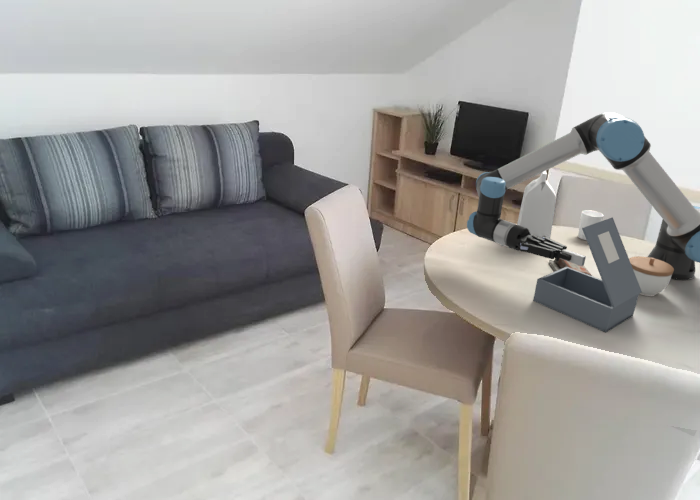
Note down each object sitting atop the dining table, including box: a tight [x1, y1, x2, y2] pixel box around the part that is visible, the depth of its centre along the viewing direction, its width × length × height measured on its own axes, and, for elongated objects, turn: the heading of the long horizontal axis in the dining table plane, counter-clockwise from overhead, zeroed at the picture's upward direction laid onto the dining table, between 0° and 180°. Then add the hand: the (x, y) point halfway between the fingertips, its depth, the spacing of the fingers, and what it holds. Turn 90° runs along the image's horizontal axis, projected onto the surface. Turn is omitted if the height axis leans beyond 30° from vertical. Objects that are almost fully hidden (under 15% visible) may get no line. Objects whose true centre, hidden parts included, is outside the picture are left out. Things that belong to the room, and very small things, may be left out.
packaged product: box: [548, 258, 593, 276], centre depth 185 cm, size 18×5×10 cm
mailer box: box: [532, 267, 640, 333], centre depth 162 cm, size 22×16×7 cm
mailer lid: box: [582, 216, 642, 308], centre depth 153 cm, size 22×16×1 cm
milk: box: [516, 170, 557, 239], centre depth 209 cm, size 12×12×26 cm
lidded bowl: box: [628, 255, 674, 297], centre depth 175 cm, size 13×13×11 cm
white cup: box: [577, 209, 604, 241], centre depth 218 cm, size 8×8×10 cm
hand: (583, 261), depth 159 cm, fingers closed
